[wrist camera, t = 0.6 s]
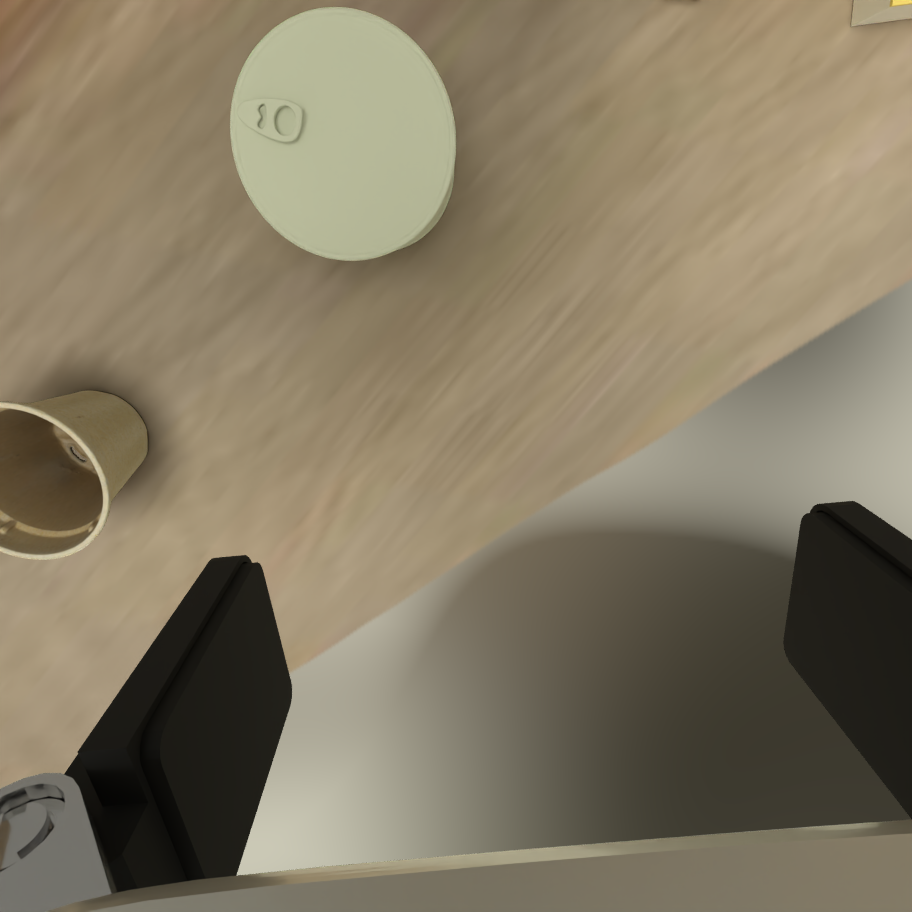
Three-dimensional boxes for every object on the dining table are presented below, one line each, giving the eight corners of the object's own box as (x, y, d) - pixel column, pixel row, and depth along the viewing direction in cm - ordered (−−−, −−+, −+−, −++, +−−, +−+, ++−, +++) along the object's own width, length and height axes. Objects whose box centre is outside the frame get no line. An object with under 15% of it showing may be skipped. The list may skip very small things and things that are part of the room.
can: (310, 55, 32) (238, -37, 21) (472, 105, 33) (485, 42, 22) (285, 229, 35) (210, 229, 24) (433, 269, 36) (427, 288, 25)
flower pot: (196, 409, 39) (131, 456, 31) (147, 518, 42) (77, 586, 34) (57, 339, 38) (-49, 369, 30) (16, 457, 40) (-91, 513, 32)
